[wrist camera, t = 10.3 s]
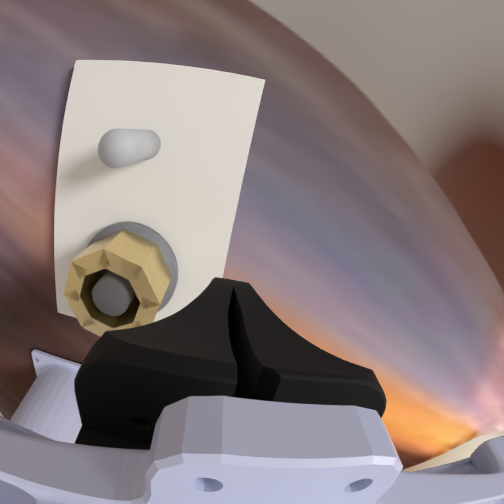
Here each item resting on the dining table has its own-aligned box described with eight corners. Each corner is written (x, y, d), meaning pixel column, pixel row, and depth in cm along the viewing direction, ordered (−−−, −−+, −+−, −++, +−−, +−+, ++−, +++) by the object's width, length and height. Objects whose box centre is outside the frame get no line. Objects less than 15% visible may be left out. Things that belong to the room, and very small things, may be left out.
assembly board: (209, 339, 23) (203, 396, 18) (63, 306, 22) (27, 349, 16) (263, 82, 17) (274, 60, 12) (82, 62, 16) (34, 44, 10)
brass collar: (181, 298, 20) (172, 329, 17) (112, 318, 20) (95, 348, 17) (147, 219, 18) (129, 238, 15) (76, 248, 19) (51, 269, 15)
